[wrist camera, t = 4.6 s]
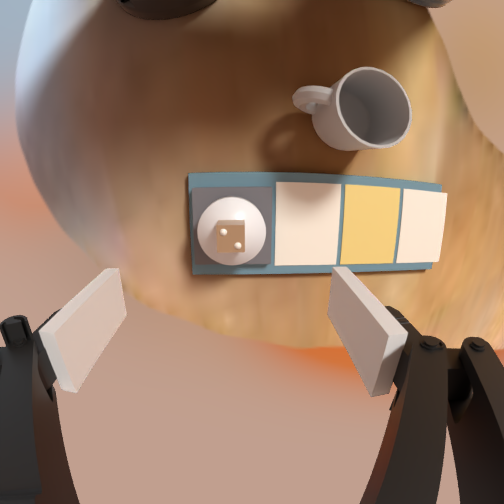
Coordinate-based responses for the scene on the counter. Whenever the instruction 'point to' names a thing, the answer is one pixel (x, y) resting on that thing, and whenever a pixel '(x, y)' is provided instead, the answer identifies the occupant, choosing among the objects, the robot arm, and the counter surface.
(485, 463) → the robot arm
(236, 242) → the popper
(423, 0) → the vase
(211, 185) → the game board
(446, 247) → the counter surface
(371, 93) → the cup
